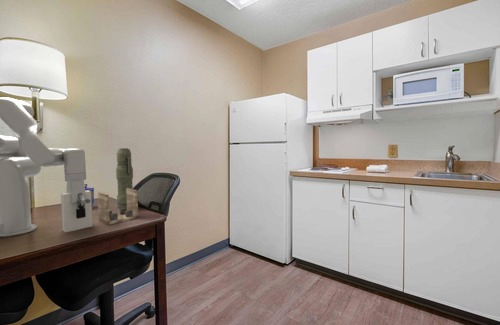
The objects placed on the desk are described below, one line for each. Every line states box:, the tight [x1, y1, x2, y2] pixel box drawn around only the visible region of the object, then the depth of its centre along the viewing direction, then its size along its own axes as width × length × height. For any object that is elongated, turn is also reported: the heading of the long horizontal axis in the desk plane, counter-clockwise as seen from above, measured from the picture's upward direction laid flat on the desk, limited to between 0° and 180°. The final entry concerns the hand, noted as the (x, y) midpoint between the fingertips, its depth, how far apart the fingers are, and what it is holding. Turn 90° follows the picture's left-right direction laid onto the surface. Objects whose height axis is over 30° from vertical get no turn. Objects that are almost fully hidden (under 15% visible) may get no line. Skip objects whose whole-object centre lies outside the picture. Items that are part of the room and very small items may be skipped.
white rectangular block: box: [60, 190, 94, 233], centre depth 104 cm, size 10×5×16 cm, turn 140°
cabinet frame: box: [97, 188, 139, 226], centre depth 117 cm, size 14×10×14 cm
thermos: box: [115, 147, 134, 210], centre depth 141 cm, size 9×12×35 cm
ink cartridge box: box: [84, 183, 95, 209], centre depth 137 cm, size 10×6×14 cm, turn 155°
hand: (77, 215), depth 104 cm, fingers open, 9 cm apart
